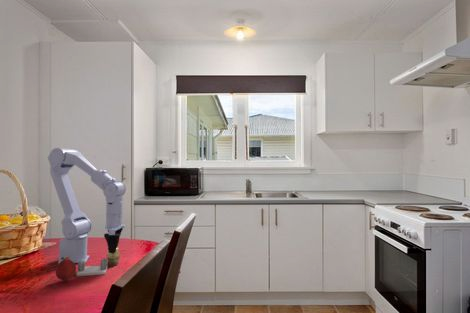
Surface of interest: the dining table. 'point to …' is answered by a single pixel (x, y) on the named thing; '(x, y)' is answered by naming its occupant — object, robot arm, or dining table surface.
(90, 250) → the dining table surface
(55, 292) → the dining table surface
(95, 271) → the fitting
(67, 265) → the onion
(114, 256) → the cylinder
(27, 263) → the dining table surface
